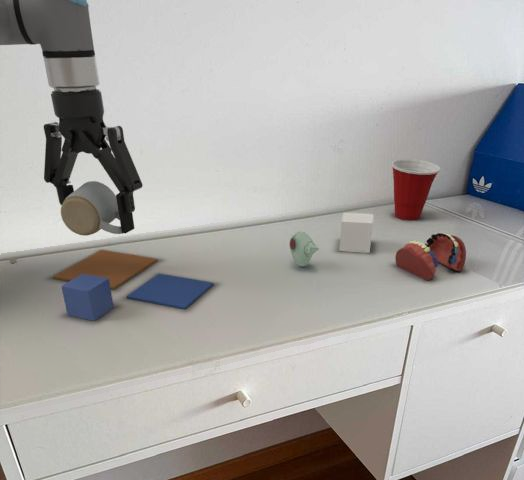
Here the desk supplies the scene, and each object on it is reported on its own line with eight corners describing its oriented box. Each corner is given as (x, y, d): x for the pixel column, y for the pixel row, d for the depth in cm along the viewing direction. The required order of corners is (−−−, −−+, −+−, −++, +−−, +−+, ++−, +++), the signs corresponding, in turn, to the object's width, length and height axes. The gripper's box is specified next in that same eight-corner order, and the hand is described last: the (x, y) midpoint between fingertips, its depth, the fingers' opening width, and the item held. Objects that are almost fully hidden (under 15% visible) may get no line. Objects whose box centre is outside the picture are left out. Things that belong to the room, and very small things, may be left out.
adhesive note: (341, 240, 108) (343, 212, 105) (370, 242, 107) (373, 214, 104) (339, 251, 103) (341, 221, 100) (369, 253, 102) (372, 223, 99)
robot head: (321, 272, 94) (323, 236, 90) (301, 276, 92) (302, 240, 89) (299, 257, 100) (300, 223, 96) (280, 261, 98) (281, 226, 95)
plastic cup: (414, 227, 115) (423, 171, 109) (375, 216, 122) (381, 163, 115) (441, 217, 121) (450, 163, 115) (402, 207, 128) (409, 156, 122)
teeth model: (392, 234, 92) (441, 224, 97) (387, 267, 96) (434, 255, 101) (426, 250, 86) (476, 239, 91) (419, 285, 90) (468, 271, 95)
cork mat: (53, 278, 92) (52, 276, 92) (101, 251, 103) (101, 249, 103) (113, 289, 88) (113, 287, 88) (157, 260, 99) (157, 258, 99)
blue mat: (126, 298, 85) (126, 296, 85) (158, 275, 93) (158, 273, 93) (185, 309, 82) (185, 307, 81) (213, 284, 89) (213, 282, 89)
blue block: (67, 315, 80) (60, 286, 77) (88, 302, 84) (82, 273, 81) (94, 321, 78) (88, 291, 76) (113, 307, 82) (108, 278, 80)
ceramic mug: (62, 236, 89) (52, 191, 85) (83, 221, 96) (75, 179, 91) (120, 240, 87) (114, 195, 83) (138, 225, 94) (132, 182, 90)
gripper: (153, 88, 79) (168, 228, 91) (33, 84, 87) (61, 214, 98) (125, 93, 73) (145, 242, 85) (-2, 89, 81) (32, 225, 92)
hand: (100, 227), depth 91 cm, fingers closed on ceramic mug, 11 cm apart
